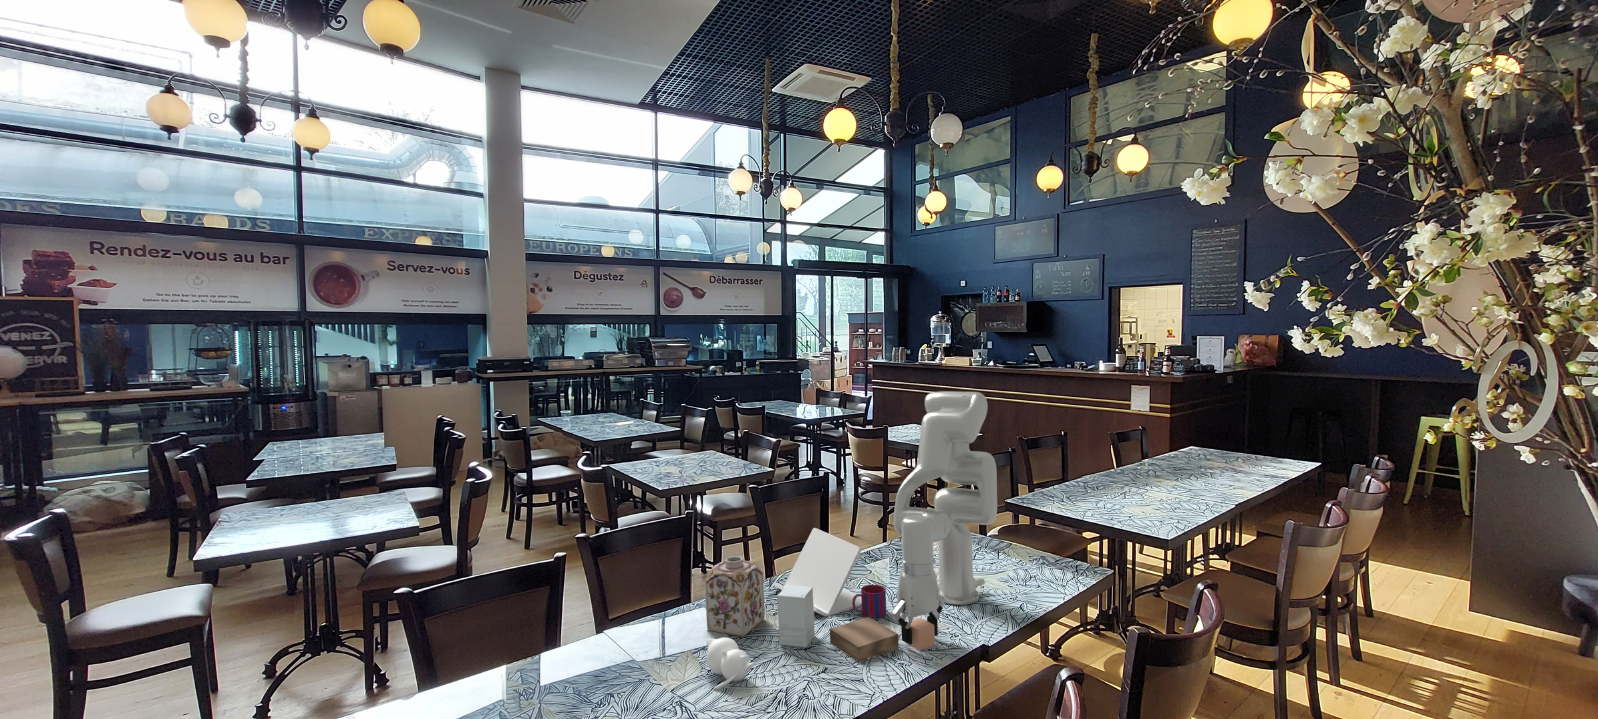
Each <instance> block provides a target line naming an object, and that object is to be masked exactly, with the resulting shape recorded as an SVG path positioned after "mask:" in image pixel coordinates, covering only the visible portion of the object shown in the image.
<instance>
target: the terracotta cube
mask: <svg viewBox="0 0 1598 719" xmlns="http://www.w3.org/2000/svg"><path fill="white" fill-rule="evenodd" d="M910 628H912V644H911V645H910V646H911V647H913V648H915V649H916V650H918V651H921V650H924V649H927V648H929V647H933V646H935V645H936V642H935V641H936V638H935V637H936V636H935V632H934V625H933V624H931V623H929V622H927V619H926V620H925V619H923V618H922V617H919V618H917V619H913V620H912V623H911V625H910Z"/></svg>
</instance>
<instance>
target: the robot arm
mask: <svg viewBox="0 0 1598 719" xmlns="http://www.w3.org/2000/svg"><path fill="white" fill-rule="evenodd" d="M924 407H925V408H924V409H925V411H926V414H925V415H924V416H923V417H922V420H921V424H920V425H921V428H920V433H919V434H920V435H919V442H918V443H919V445H918V453H917V460H916V461H917V462H916V465H915V468H914V470H913V471H912V472H910V473H909V474H908V475H907V476H906V477H905V479H903V481H902V483H901V484H900V486H899V488H898V491H897V493H896V497H895V503H894V512H893V528H894V529H895V532H896V533H897V534H898V535H900V536H901V552H902V557H901V559H902V560H901V561H902V572H901V573H899V578H898V584H897V596H896V597H897V598H896V599H897V600H896V604H897V605H896V607H895V608H894V609H893V610H892V612H891V616H892V617H893V618H894V620H895V621H896V623H897V624H898V625H899V626H901V627H900V628H901V640H902V642H903V643H906V644H907V645H909V646H911V644H912V628H910V625H911V623H912V621H913V620H914V618H917V617H919V616H920V617H921V616H924V615H927V614H928V615H927V616H926V621H927V622H929V623H931V624H933V625H934V632H935V637H937V636H939V632H938V631H939V629H938V628H939V627H938V626H939V625H938V623H939V621H938V620H939V619H940V618H941V617H940V614H941V613H942V611H943V609H944V608H943V607H944V606H945V604H948V605H954V606H955V605H957V606H963V605H965V606H966V605H970V604H971V605H972V604H974V603H976V602H978V601H979V600H980V593H979V591H977V588H978V587H980V586H984V585H985V584H986V581H985V579H984V578H983V577H981V578H976V579H975V578H974V567H973V566H974V564H973V536H972V533H971V532H970V530H969V527H967V525H966V524H973V525H983V526H987V525H992V524H993V523H995V521H996V519H997V513H998V483H997V482H998V480H997V479H998V478H997V476H998V475H997V474H998V473H997V464H996V461H995V460H996V459H995V458H994V456H993V455H992V454H991V453H989V452H987V451H978V450H977V451H975V450H973V451H972V450H970V444H972V443H973V442H975V440H976V439H977V437H978V435H979V433H980V431H981V428H982V426H983V423H985V422H984V421H985V420H986V418H987V414H988V407H989V406H988V401H987V398H986V396H985V395H984V394H983V393H982V392H979V391H951V390H949V391H946V390H945V391H944V390H943V391H933V392H930V393H928V394H927V395H926V396H925V398H924ZM938 478H941V480H942V481H944V482H946V483H950V484H958V485H969V486H976V487H977V489H971V488H960V487H959V488H958V487H944V488H941V489H939V490H937V492H936V493H935V496H934V498H933V506H934V509H931V508H926V507H925V508H924V507H915V506H910V501H911V498H912V495H913V494H914V493H915V491H916V490H917V489H918V488H919V487H920V486H922V485H924V484H926V483H928V482H930V481H933V480H936V479H938ZM936 542H938V568H939V569H938V570H939V573H938V575H939V584H938V579H937V574H936V571H935V570H934V565H935V564H936V563H937V562H936V559H935V558H934V543H936Z"/></svg>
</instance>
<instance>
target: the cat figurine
mask: <svg viewBox="0 0 1598 719" xmlns="http://www.w3.org/2000/svg"><path fill="white" fill-rule="evenodd" d="M706 646H707V650H706V651H707V652H706V656H705V658H706V659H705V660H706V664H707V666H708V668H709V670H710V671H711V672H712V673H713V674H715V675H721V676H723V677H724V678H725V679H726V680H725V681H723V682H721V683H719V684H717V685H715V686H714V687H713V690H714V691H717V690H719V689H720V690H721V689H722V688H724V687H726V686H727V685H729V683H731V682H739V681H741V680H743V679H744V678H745V677H746V675H747V674H748V673H749V670H750V669H752V668H753V667H755V665H756V664H755V662H754V661H753V662H750V660H749V659H750V654H747V653H746V652H745V650H742V649H740V648H739V646H738V644H737V642H736V641H735V640H734V639H732V638H730V637H720V638H712V637H711V638H710V637H709V638H707V639H706Z"/></svg>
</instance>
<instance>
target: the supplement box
mask: <svg viewBox="0 0 1598 719" xmlns="http://www.w3.org/2000/svg"><path fill="white" fill-rule="evenodd" d="M776 597H777V611H778V612H777V613H778V615H777V616H778V634H779V635H778V636H779V645H780V646H789V647H797V648H798V647H799V648H807V647H808V646H809V644H810V643H811V642H812V640H813V639H814V637H815V635H816V633H815V611H814V606H813V587H804V586H792V585H787V586H786V587H785V588H784V589H783V590H781V591H780V592H779V593H778V594H777V595H776Z"/></svg>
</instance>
